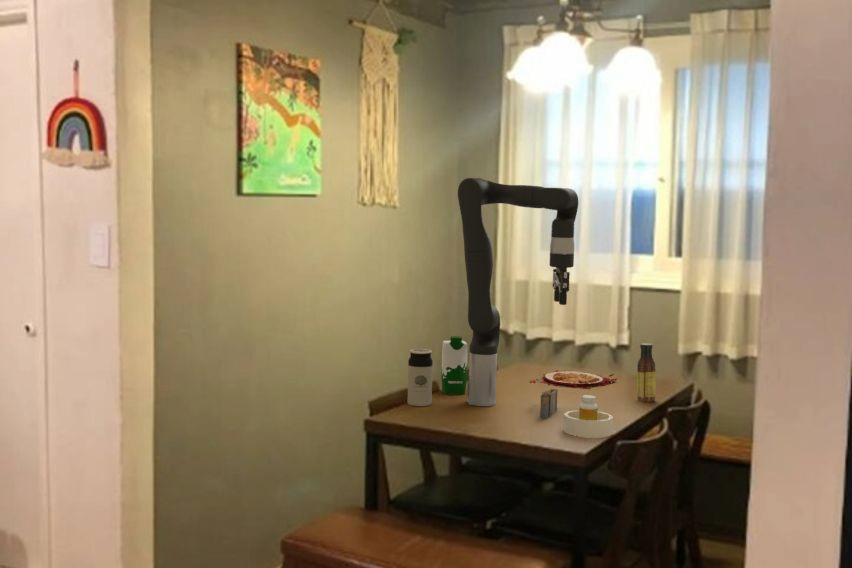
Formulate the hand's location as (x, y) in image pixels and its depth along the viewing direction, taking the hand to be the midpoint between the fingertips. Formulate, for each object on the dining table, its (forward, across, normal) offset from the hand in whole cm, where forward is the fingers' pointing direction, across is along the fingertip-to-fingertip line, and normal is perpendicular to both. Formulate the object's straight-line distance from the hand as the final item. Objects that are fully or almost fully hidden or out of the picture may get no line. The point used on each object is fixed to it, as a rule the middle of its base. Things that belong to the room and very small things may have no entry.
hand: (560, 303), depth 294 cm
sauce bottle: (+36, -24, +36) cm, 56 cm away
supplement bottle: (+35, +21, +5) cm, 41 cm away
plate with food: (+37, -56, +18) cm, 70 cm away
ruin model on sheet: (+37, -2, -2) cm, 37 cm away
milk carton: (+36, -34, -30) cm, 58 cm away
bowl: (+36, +21, +6) cm, 42 cm away
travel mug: (+36, -14, -43) cm, 58 cm away
